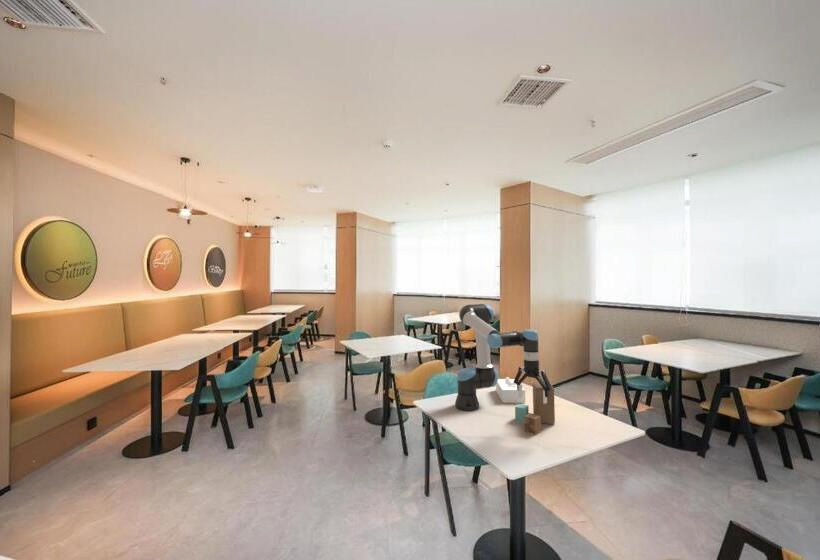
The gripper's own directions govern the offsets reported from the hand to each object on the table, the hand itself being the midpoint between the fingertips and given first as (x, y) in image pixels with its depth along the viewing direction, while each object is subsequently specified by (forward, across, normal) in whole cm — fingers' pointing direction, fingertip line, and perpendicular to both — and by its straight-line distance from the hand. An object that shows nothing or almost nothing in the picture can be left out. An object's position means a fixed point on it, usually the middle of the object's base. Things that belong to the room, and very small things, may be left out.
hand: (532, 400), depth 174 cm
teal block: (+16, -12, +9) cm, 22 cm away
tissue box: (+16, -38, +40) cm, 57 cm away
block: (+16, -3, +17) cm, 24 cm away
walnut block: (+16, -1, 0) cm, 17 cm away
